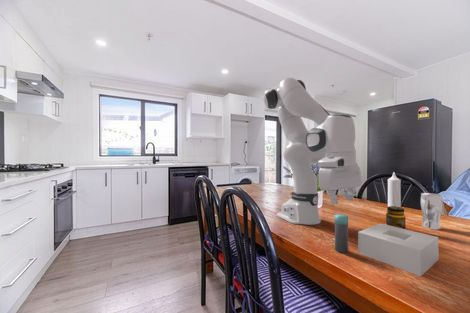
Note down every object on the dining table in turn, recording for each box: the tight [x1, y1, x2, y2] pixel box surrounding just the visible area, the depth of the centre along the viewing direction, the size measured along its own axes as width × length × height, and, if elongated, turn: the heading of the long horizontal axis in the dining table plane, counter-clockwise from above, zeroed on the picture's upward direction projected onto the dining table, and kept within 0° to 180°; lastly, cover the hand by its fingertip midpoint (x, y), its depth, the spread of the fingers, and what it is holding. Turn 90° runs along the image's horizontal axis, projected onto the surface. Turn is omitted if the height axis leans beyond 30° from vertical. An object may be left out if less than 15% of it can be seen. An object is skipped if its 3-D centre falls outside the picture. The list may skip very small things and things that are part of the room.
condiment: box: [385, 206, 407, 230], centre depth 81 cm, size 7×8×12 cm
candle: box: [385, 171, 402, 225], centre depth 91 cm, size 7×7×25 cm
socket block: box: [357, 223, 439, 277], centre depth 66 cm, size 16×16×7 cm
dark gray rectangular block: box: [334, 213, 349, 254], centre depth 70 cm, size 4×4×12 cm
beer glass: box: [420, 192, 443, 231], centre depth 91 cm, size 7×7×15 cm
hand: (342, 201), depth 69 cm, fingers open, 8 cm apart
